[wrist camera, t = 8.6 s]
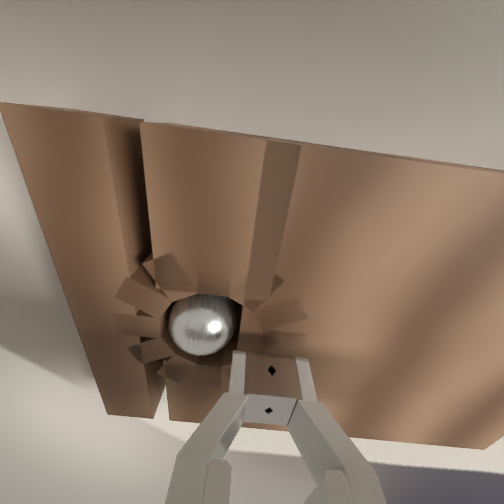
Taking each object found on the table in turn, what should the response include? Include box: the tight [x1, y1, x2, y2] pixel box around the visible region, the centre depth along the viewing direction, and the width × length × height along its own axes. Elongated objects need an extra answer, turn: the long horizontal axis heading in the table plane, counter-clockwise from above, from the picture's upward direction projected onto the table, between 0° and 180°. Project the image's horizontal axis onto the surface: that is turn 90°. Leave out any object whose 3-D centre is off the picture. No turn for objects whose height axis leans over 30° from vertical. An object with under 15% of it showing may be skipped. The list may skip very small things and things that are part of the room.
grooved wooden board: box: [0, 102, 504, 450], centre depth 11 cm, size 24×16×2 cm, turn 83°
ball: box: [169, 293, 237, 356], centre depth 11 cm, size 3×3×3 cm
